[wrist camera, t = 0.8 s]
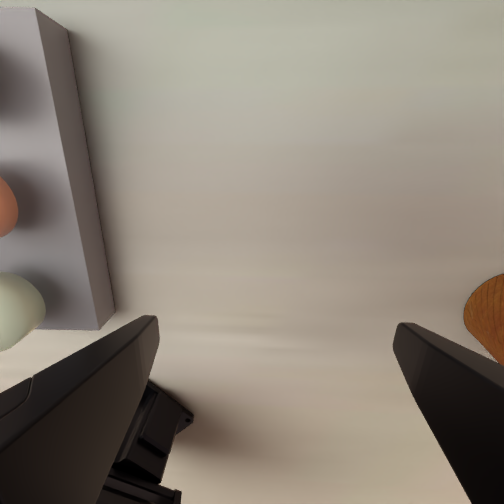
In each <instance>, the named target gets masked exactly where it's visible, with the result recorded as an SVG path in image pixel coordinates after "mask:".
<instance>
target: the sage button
mask: <svg viewBox="0 0 504 504" xmlns="http://www.w3.org/2000/svg"><path fill="white" fill-rule="evenodd" d="M45 313H46V307H45V303H44V300H43V298H42V296H41V294H40V293H39V291H38V290H37V289H36V288H35V287H34V286H33V285H32V284H31V283H30V282H29V281H27V280H26V279H24V278H22V277H20V276H18V275H16V274H12V273H8V272H0V351H4V350H7V349H9V348H11V347H12V346H14V345H15V344H16V343H18V342H19V341H20V340H21V339H23V338H24V337H25V336H26V335H28V334H29V333H30V332H31V331H33V330H34V329H35V328H36V327H38V326H39V325H40V324H41V323H42V321H43V320H44V317H45Z"/></svg>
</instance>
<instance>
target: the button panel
mask: <svg viewBox="0 0 504 504" xmlns="http://www.w3.org/2000/svg"><path fill="white" fill-rule="evenodd" d="M0 177H1V178H2V179H3V180H4V181H5V182H6V183H7V184H8V186H9V187H10V189H11V190H12V192H13V194H14V196H15V198H16V201H17V206H18V219H17V223H16V225H15V227H14V228H13V230H12V231H11V232H10V233H8V234H7V235H5V236H3V237H1V238H0V272H8V273H12V274H16V275H18V276H20V277H22V278H24V279H26V280H27V281H29V282H30V283H31V284H32V285H33V286H34V287H35V288H36V289H37V290H38V291H39V293H40V294H41V296H42V298H43V300H44V303H45V307H46V313H45V317H44V320H43V321H42V323H41V324H40V325H39V326H38V327H36V328H35V329H55V330H100V329H101V328H102V326H103V325H104V324H105V323H106V322H107V321H108V320H109V319H110V317H111V316H112V315H113V314H114V313H115V307H114V301H113V295H112V289H111V283H110V278H109V272H108V266H107V260H106V254H105V248H104V242H103V237H102V231H101V225H100V219H99V213H98V207H97V202H96V196H95V190H94V184H93V178H92V172H91V166H90V161H89V155H88V149H87V143H86V137H85V131H84V126H83V120H82V114H81V108H80V102H79V96H78V91H77V85H76V79H75V73H74V67H73V61H72V55H71V50H70V44H69V38H68V32H67V29H66V28H64V27H63V26H61V25H60V24H58V23H57V22H55V21H54V20H52V19H51V18H49V17H48V16H47V15H45V14H44V13H42V12H41V11H39V10H38V9H36V8H33V7H0Z"/></svg>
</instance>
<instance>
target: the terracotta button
mask: <svg viewBox="0 0 504 504" xmlns="http://www.w3.org/2000/svg"><path fill="white" fill-rule="evenodd" d="M17 219H18V206H17V201H16V198H15V196H14V194H13V192H12V190H11V189H10V187H9V186H8V184H7V183H6V182H5V181H4V180H3V179H2V178H1V177H0V238H1V237H3V236H5V235H7V234H8V233H10V232H11V231H12V230H13V228H14V227H15V225H16V223H17Z"/></svg>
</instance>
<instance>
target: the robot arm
mask: <svg viewBox="0 0 504 504" xmlns="http://www.w3.org/2000/svg"><path fill="white" fill-rule="evenodd" d="M159 340H160V337H159V326H158V319H157V317H156V316H154V315H143V316H141V317H139V318H138V319H136V320H134V321H132V322H130V323H128V324H127V325H125V326H123V327H121V328H119V329H117V330H116V331H114V332H112V333H110V334H108V335H106V336H105V337H103V338H101V339H99V340H97V341H95V342H94V343H92V344H90V345H88V346H86V347H84V348H83V349H81V350H79V351H77V352H75V353H73V354H72V355H70V356H68V357H66V358H64V359H62V360H61V361H59V362H57V363H55V364H53V365H51V366H50V367H48V368H46V369H44V370H42V371H40V372H39V373H37V374H35V375H33V377H32V378H31V377H30V378H27V379H26V380H24V381H22V382H20V383H18V384H17V385H15V386H13V387H11V388H9V389H7V390H5V391H3V392H2V393H0V504H181V493H182V492H181V491H179V490H176V489H175V490H172V489H169V488H166V487H164V486H161V485H159V484H160V483H161V481H162V477H163V474H164V470H165V467H166V463H167V460H168V456H169V454H170V452H171V448H172V445H173V441H174V437H175V435H176V434H178V433H179V432H180V431H182V430H183V429H185V428H186V427H187V426H189V425H190V424H191V423H192V422H193V419H194V415H193V414H192V413H191V412H189V411H188V410H187V409H185V408H184V407H183V406H181V405H180V404H179V403H177V402H176V401H175V400H173V399H172V398H170V397H169V396H168V395H166V394H165V393H164V392H162V391H161V390H160V389H158V388H157V387H156V386H154V385H153V384H152V383H150V382H149V381H148V378H149V375H150V372H151V368H152V365H153V362H154V359H155V356H156V352H157V349H158V346H159ZM393 351H394V354H395V356H396V358H397V361H398V363H399V365H400V368H401V370H402V372H403V375H404V377H405V379H406V382H407V384H408V386H409V389H410V391H411V393H412V395H413V397H414V399H415V401H416V403H417V405H418V407H419V409H420V410H421V412H422V414H423V416H424V418H425V419H426V421H427V423H428V425H429V427H430V429H431V430H432V432H433V434H434V436H435V438H436V440H437V441H438V443H439V445H440V447H441V449H442V450H443V452H444V454H445V456H446V458H447V460H448V461H449V463H450V465H451V467H452V469H453V471H454V472H455V474H456V476H457V478H458V480H459V481H460V483H461V485H462V487H463V489H464V491H465V492H466V494H467V496H468V498H469V500H470V502H471V503H472V504H504V366H503V365H501V364H499V363H497V362H495V361H493V360H491V359H488V358H486V357H484V356H482V355H480V354H478V353H476V352H474V351H472V350H469V349H467V348H465V347H463V346H461V345H459V344H457V343H455V342H453V341H450V340H448V339H446V338H444V337H442V336H440V335H438V334H436V333H434V332H431V331H429V330H427V329H425V328H423V327H421V326H419V325H417V324H415V323H407V322H401V323H399V324H398V325H397V329H396V333H395V337H394V341H393Z"/></svg>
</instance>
